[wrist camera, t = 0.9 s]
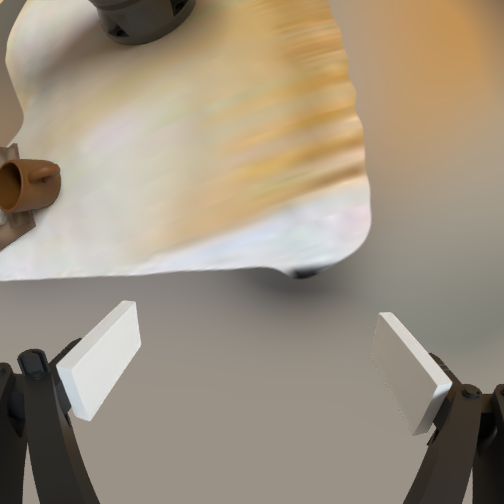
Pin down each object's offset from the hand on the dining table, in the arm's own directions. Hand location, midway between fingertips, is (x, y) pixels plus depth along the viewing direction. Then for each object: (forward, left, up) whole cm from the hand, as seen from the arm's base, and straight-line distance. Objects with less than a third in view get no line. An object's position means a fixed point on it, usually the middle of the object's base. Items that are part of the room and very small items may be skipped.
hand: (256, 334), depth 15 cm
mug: (-20, -27, -24) cm, 41 cm away
